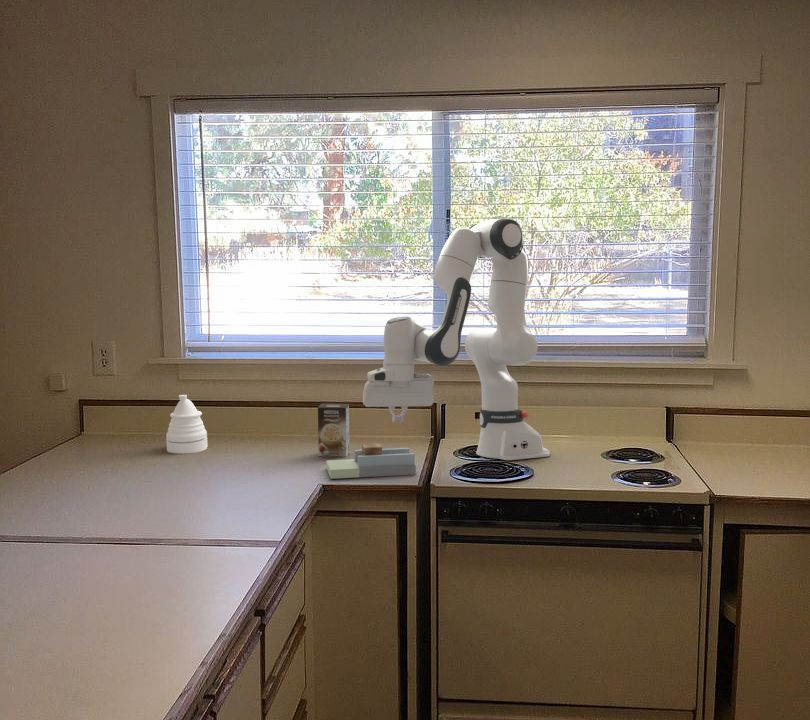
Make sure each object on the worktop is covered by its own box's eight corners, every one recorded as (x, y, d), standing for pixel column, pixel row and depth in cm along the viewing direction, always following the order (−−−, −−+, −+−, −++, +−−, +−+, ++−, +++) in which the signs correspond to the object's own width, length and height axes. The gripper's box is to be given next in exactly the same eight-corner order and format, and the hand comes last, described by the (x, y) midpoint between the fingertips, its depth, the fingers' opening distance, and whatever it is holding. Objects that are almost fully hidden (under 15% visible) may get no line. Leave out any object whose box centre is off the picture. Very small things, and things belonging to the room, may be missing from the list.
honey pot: (201, 453, 251) (198, 397, 248) (161, 453, 251) (158, 398, 248) (212, 443, 263) (209, 390, 261) (173, 444, 264) (170, 391, 261)
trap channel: (407, 465, 233) (407, 446, 233) (415, 474, 222) (415, 455, 221) (326, 468, 229) (326, 450, 228) (330, 478, 217) (330, 459, 217)
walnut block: (379, 460, 228) (379, 443, 228) (382, 464, 223) (382, 447, 223) (362, 461, 227) (362, 444, 227) (364, 465, 222) (364, 447, 222)
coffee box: (317, 458, 244) (316, 407, 241) (321, 453, 250) (320, 403, 248) (347, 458, 243) (345, 407, 240) (350, 453, 249) (349, 403, 247)
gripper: (431, 372, 229) (430, 419, 230) (362, 372, 225) (361, 420, 226) (436, 374, 223) (435, 423, 224) (365, 375, 219) (364, 424, 220)
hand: (397, 421), depth 225 cm, fingers closed
